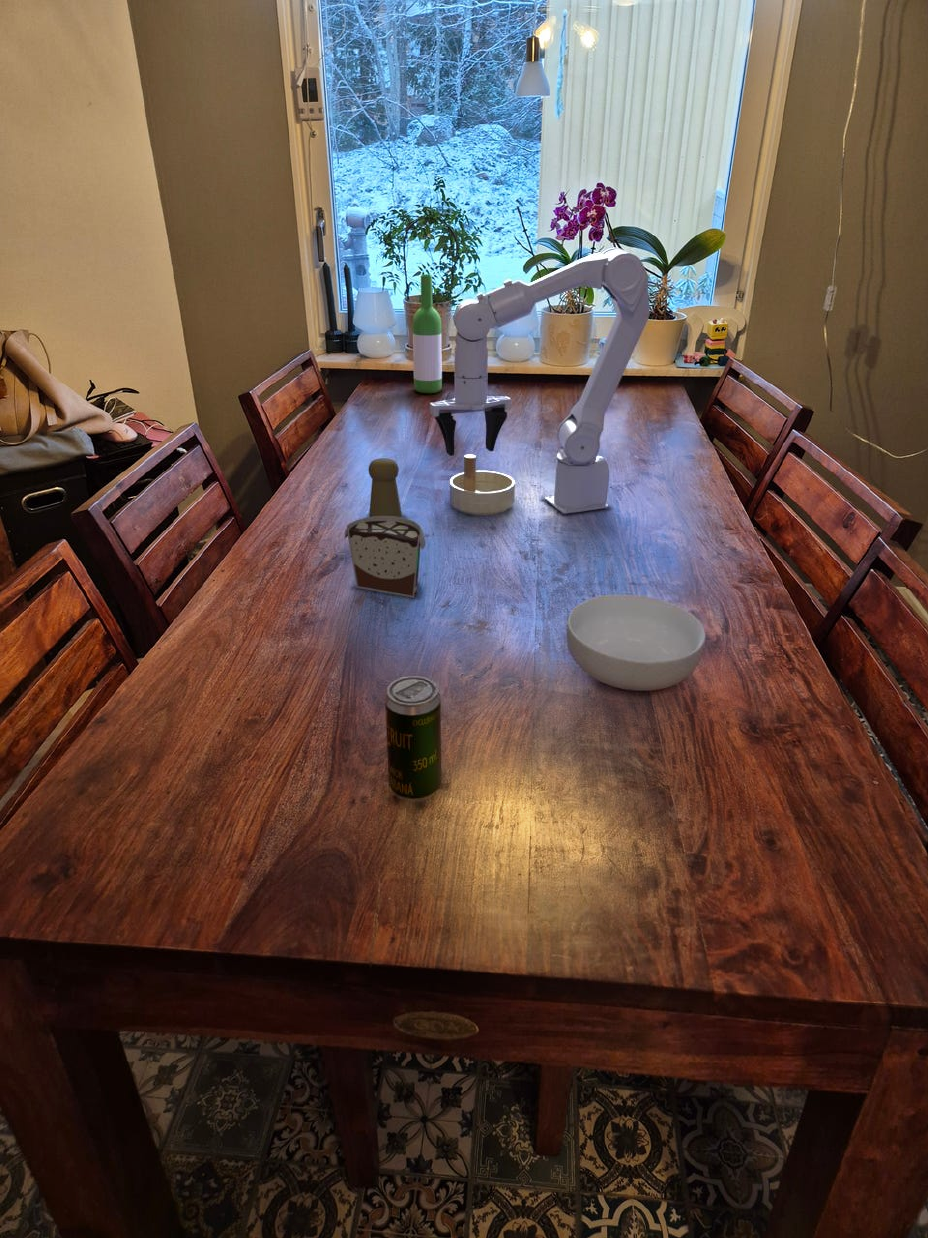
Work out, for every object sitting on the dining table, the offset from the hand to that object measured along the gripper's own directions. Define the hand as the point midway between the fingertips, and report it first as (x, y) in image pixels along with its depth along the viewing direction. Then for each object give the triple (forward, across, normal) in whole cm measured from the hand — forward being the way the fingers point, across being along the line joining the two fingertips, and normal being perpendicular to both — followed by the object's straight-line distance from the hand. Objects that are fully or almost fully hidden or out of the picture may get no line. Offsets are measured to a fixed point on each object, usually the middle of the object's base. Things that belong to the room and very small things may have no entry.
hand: (470, 451), depth 147 cm
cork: (+11, -16, -1) cm, 20 cm away
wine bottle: (+11, +20, +85) cm, 88 cm away
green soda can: (+11, -34, -71) cm, 79 cm away
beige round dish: (+10, +2, 0) cm, 11 cm away
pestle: (+10, 0, 0) cm, 10 cm away
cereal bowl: (+11, -2, -60) cm, 61 cm away
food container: (+11, -22, -26) cm, 36 cm away
